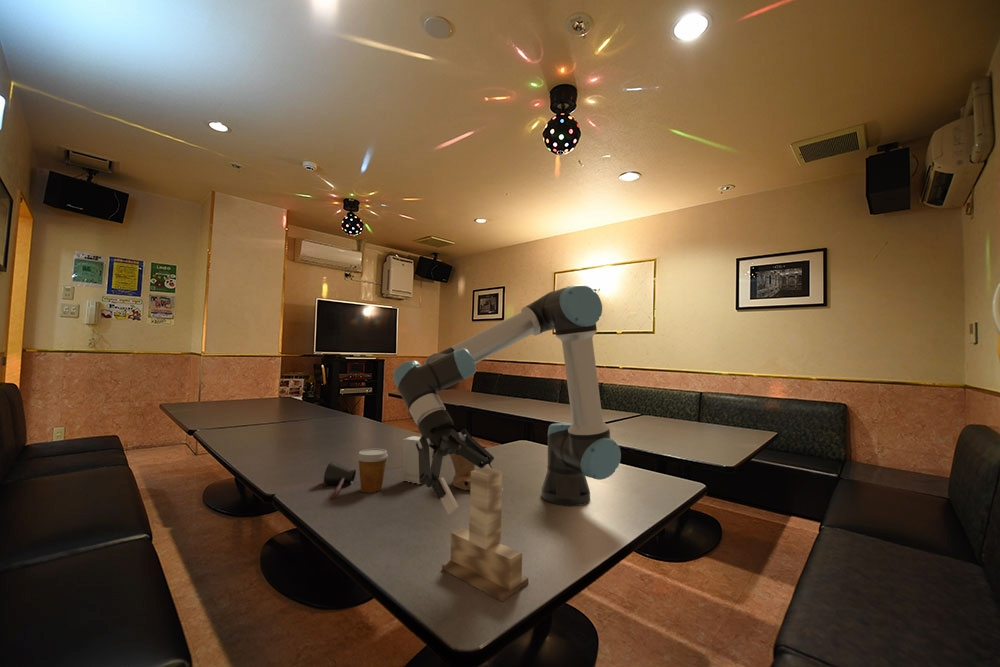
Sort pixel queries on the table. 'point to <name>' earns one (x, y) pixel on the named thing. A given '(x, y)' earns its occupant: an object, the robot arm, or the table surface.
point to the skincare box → (411, 459)
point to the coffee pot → (338, 476)
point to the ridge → (486, 566)
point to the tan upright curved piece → (462, 471)
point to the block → (485, 507)
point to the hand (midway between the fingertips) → (478, 501)
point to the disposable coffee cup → (372, 469)
